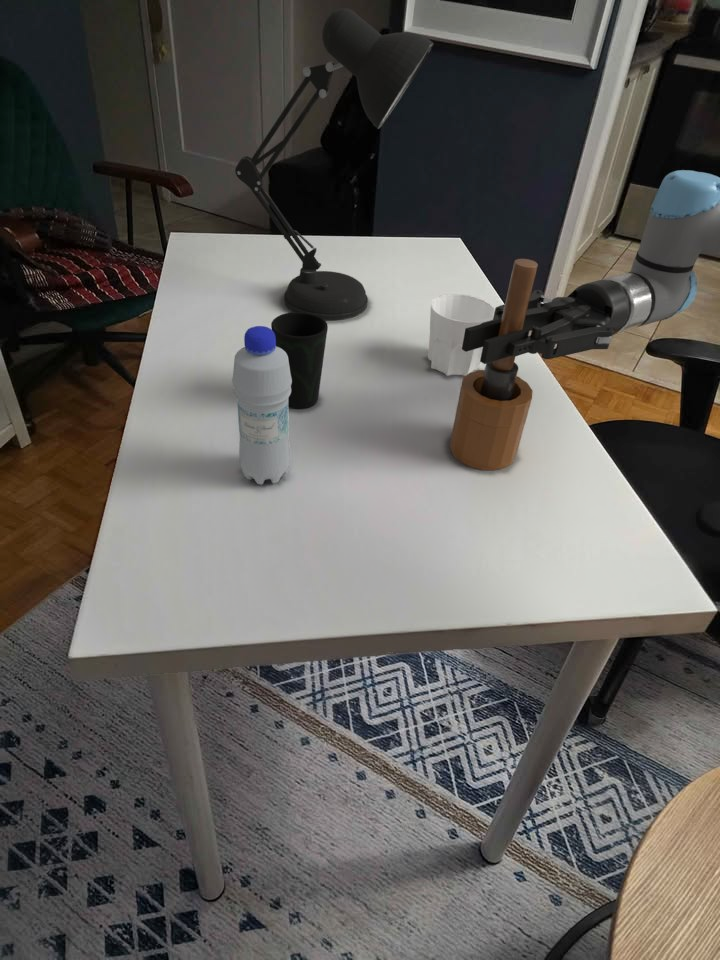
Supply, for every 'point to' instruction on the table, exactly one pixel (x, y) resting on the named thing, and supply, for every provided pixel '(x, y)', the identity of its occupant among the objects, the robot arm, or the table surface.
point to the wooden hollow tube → (488, 424)
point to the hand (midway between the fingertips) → (475, 346)
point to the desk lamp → (381, 84)
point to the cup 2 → (455, 332)
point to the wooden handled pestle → (510, 331)
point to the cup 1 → (302, 354)
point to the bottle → (262, 406)
